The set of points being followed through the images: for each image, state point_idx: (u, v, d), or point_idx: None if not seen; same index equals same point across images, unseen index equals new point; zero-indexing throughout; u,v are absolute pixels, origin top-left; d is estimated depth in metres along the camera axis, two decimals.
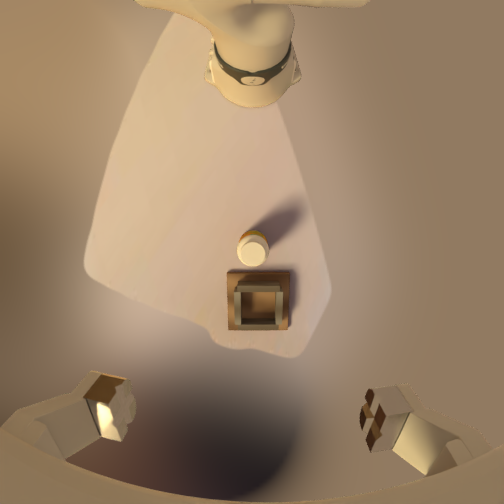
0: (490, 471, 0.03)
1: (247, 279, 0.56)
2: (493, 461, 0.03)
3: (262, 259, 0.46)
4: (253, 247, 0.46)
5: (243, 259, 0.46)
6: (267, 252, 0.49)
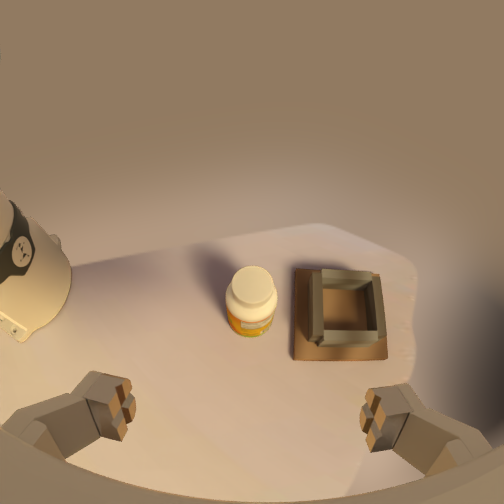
0: (490, 471, 0.03)
1: (305, 327, 0.34)
2: (493, 461, 0.03)
3: (262, 270, 0.28)
4: (240, 281, 0.27)
5: (260, 298, 0.27)
6: None
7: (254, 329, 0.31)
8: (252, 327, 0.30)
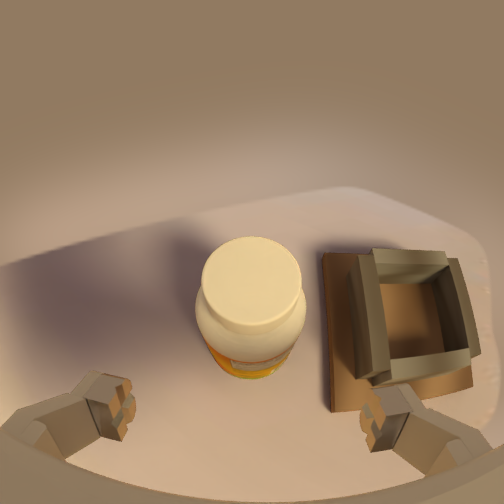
0: (490, 471, 0.03)
1: (349, 354, 0.18)
2: (493, 461, 0.03)
3: (272, 245, 0.12)
4: (223, 273, 0.11)
5: (272, 313, 0.11)
6: None
7: (258, 370, 0.15)
8: (254, 368, 0.14)
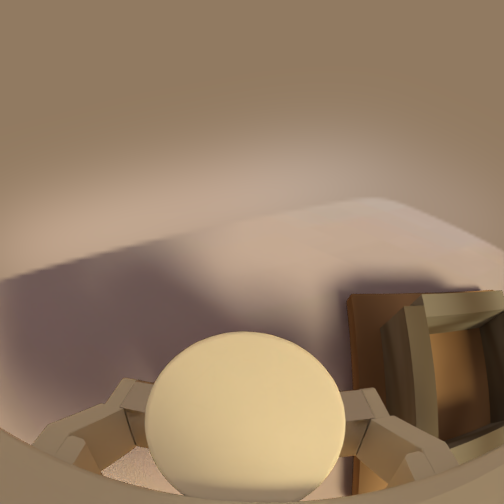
0: (490, 471, 0.03)
1: None
2: (493, 461, 0.03)
3: (289, 353, 0.06)
4: (186, 417, 0.05)
5: (285, 496, 0.04)
6: None
7: None
8: None
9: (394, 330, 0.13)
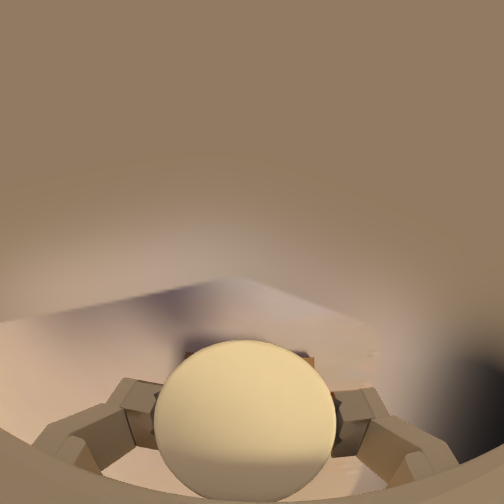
0: (490, 471, 0.03)
1: None
2: (493, 461, 0.03)
3: (284, 359, 0.06)
4: (191, 417, 0.05)
5: (281, 489, 0.04)
6: None
7: None
8: None
9: None
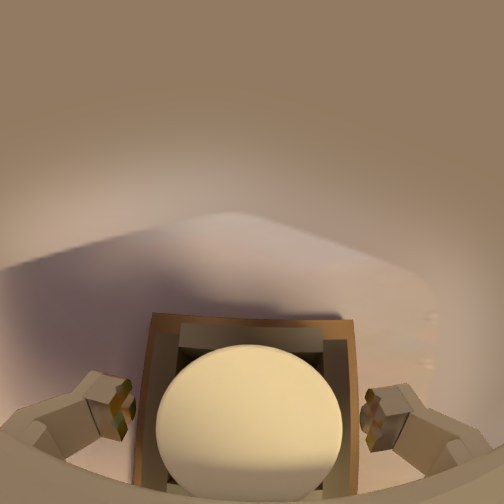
0: (490, 471, 0.03)
1: None
2: (493, 461, 0.03)
3: (290, 365, 0.06)
4: (195, 424, 0.05)
5: (286, 496, 0.04)
6: None
7: None
8: None
9: None
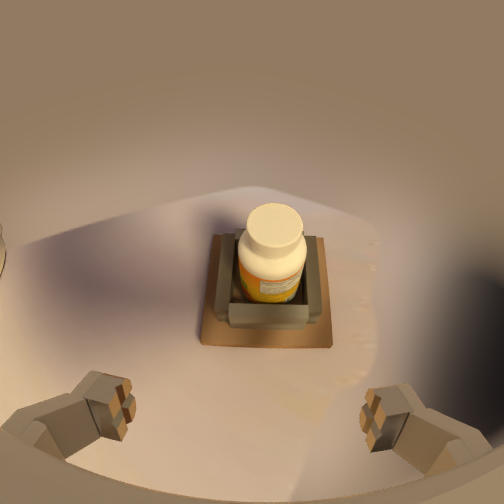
0: (490, 471, 0.03)
1: None
2: (493, 461, 0.03)
3: (285, 207, 0.21)
4: (258, 222, 0.20)
5: (287, 241, 0.19)
6: None
7: (277, 294, 0.24)
8: (274, 290, 0.23)
9: None
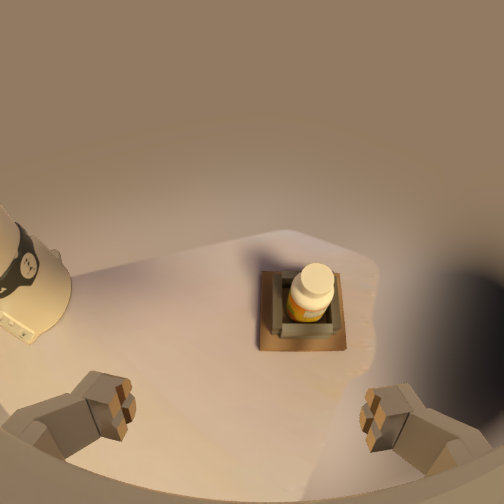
0: (490, 471, 0.03)
1: (269, 322, 0.40)
2: (493, 461, 0.03)
3: (323, 266, 0.33)
4: (308, 276, 0.33)
5: (325, 289, 0.32)
6: None
7: (313, 317, 0.36)
8: (313, 315, 0.35)
9: (272, 283, 0.41)
